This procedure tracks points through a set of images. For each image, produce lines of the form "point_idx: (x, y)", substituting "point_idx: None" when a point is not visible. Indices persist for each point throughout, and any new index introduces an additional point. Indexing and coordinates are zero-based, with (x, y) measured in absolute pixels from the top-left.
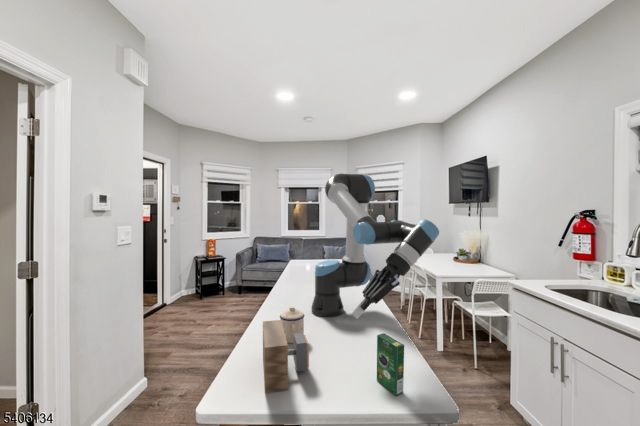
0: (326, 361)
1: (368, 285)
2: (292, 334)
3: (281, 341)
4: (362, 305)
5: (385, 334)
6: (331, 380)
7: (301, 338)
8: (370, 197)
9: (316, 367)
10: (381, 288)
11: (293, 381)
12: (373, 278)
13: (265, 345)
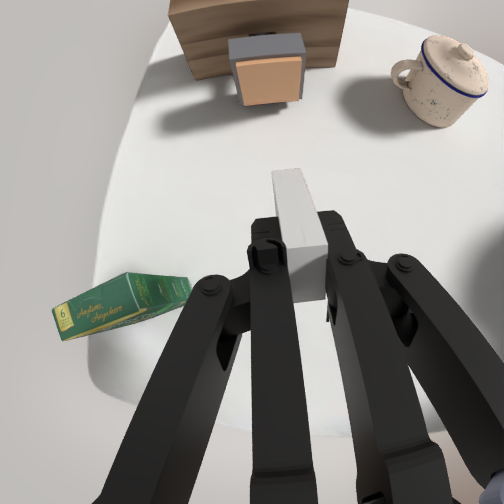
0: (303, 161)
1: (441, 323)
2: (391, 71)
3: (193, 2)
4: (265, 228)
5: (126, 310)
6: (210, 162)
7: (261, 47)
8: None
9: (275, 133)
10: (151, 402)
11: (223, 87)
12: (495, 407)
13: None
